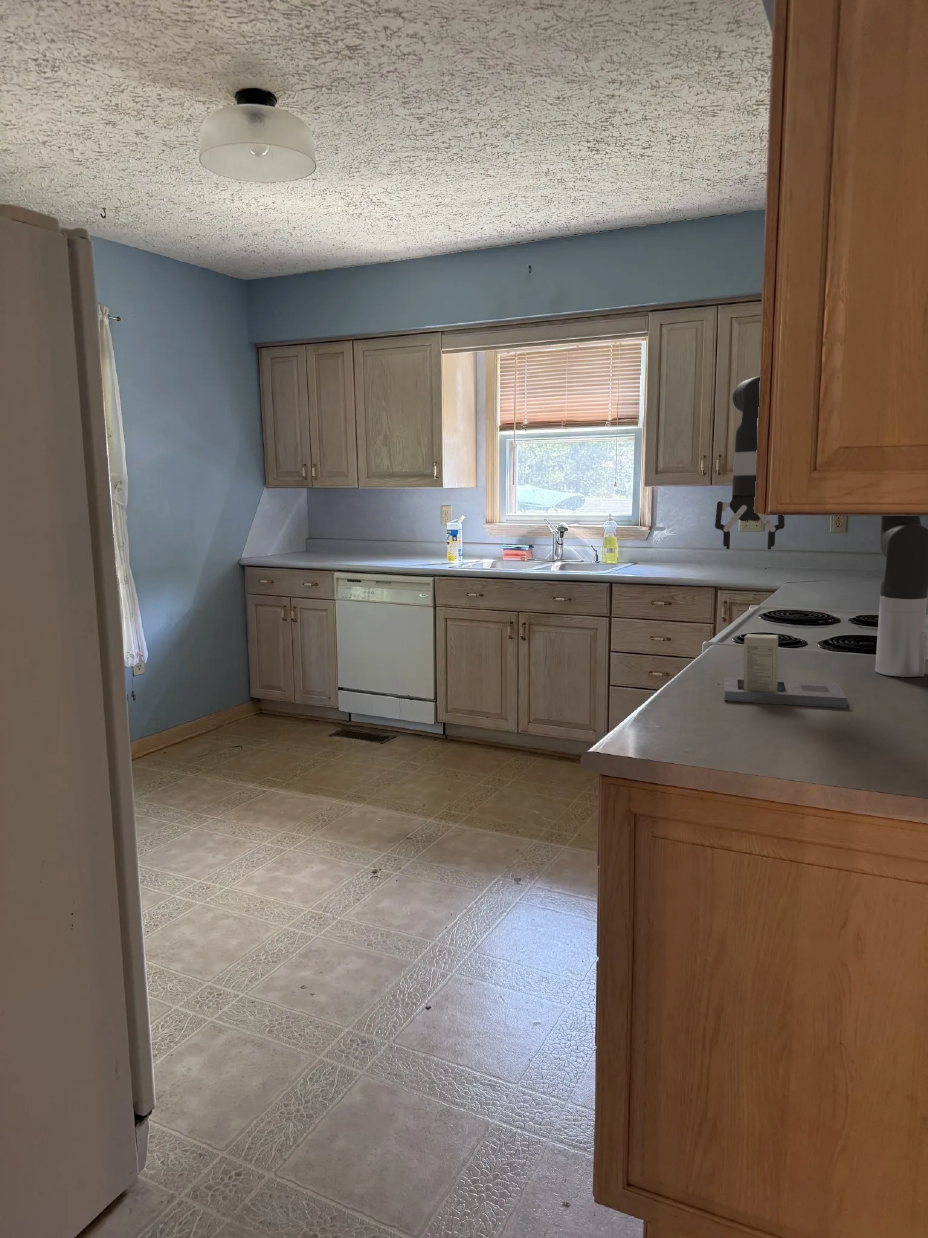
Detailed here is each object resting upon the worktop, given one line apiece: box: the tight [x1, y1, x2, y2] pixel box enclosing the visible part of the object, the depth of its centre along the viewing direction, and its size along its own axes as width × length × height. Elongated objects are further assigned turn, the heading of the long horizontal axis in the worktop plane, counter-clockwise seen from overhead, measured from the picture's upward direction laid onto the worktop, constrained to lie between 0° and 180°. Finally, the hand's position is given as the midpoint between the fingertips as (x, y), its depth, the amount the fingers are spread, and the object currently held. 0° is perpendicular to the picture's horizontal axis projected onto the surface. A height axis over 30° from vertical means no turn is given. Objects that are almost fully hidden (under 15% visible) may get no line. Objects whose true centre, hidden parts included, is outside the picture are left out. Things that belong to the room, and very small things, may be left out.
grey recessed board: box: [723, 676, 848, 709], centre depth 168 cm, size 22×13×2 cm, turn 73°
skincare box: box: [743, 633, 779, 692], centre depth 168 cm, size 6×4×12 cm
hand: (748, 549), depth 183 cm, fingers open, 8 cm apart
